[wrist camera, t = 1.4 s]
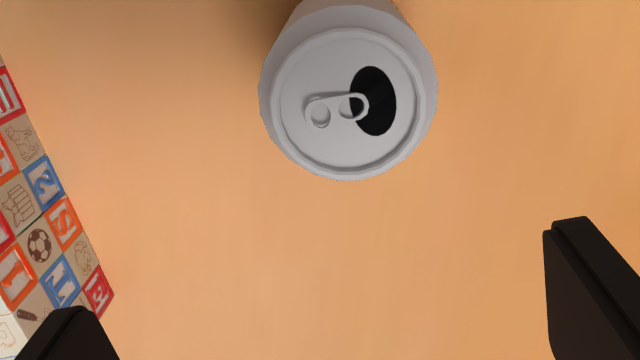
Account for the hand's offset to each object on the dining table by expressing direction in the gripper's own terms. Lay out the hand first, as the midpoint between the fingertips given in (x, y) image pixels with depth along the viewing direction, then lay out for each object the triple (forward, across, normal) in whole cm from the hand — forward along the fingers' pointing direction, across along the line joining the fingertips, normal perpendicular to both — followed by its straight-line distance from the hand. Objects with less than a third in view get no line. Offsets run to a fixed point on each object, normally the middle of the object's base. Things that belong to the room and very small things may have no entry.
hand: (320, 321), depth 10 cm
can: (+23, -1, -1) cm, 23 cm away
